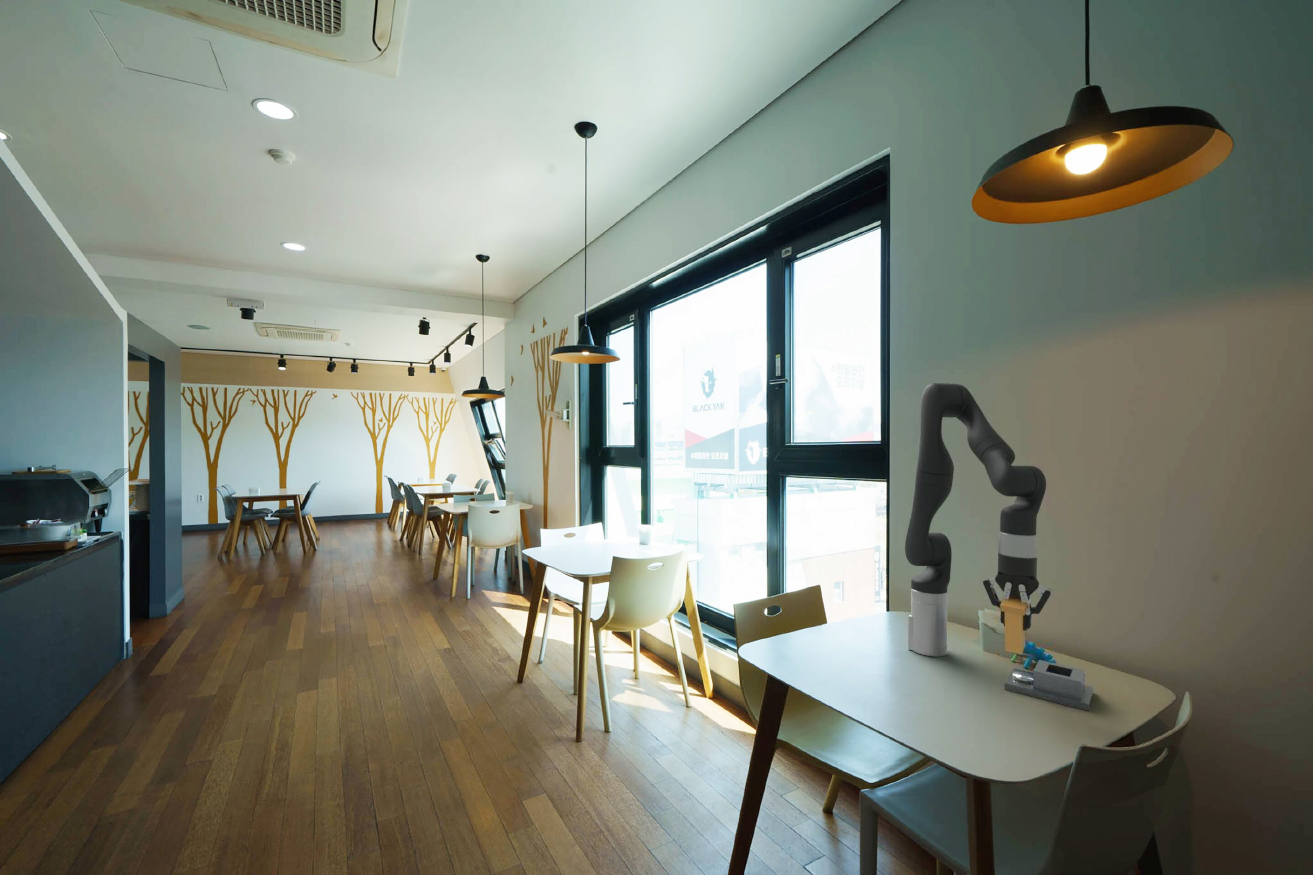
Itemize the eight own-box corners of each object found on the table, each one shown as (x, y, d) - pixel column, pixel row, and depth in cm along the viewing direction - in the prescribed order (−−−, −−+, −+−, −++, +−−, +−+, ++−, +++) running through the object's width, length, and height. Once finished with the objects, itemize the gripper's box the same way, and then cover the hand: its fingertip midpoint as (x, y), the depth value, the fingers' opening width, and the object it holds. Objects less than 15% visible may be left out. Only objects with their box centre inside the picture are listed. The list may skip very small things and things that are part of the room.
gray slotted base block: (1004, 689, 135) (1004, 666, 135) (1014, 674, 144) (1014, 652, 144) (1088, 710, 124) (1089, 685, 125) (1093, 693, 133) (1093, 669, 134)
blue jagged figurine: (1066, 667, 145) (1040, 640, 144) (1054, 685, 143) (1027, 658, 143) (1030, 657, 155) (1005, 631, 155) (1018, 674, 154) (993, 648, 153)
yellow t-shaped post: (1001, 651, 129) (1000, 605, 127) (1006, 639, 134) (1005, 594, 132) (1024, 657, 126) (1024, 609, 124) (1029, 644, 130) (1028, 598, 129)
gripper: (978, 550, 131) (977, 624, 131) (1052, 560, 122) (1050, 640, 122) (986, 545, 137) (984, 616, 137) (1056, 555, 127) (1055, 631, 128)
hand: (1015, 627), depth 130 cm, fingers closed on yellow t-shaped post, 3 cm apart
